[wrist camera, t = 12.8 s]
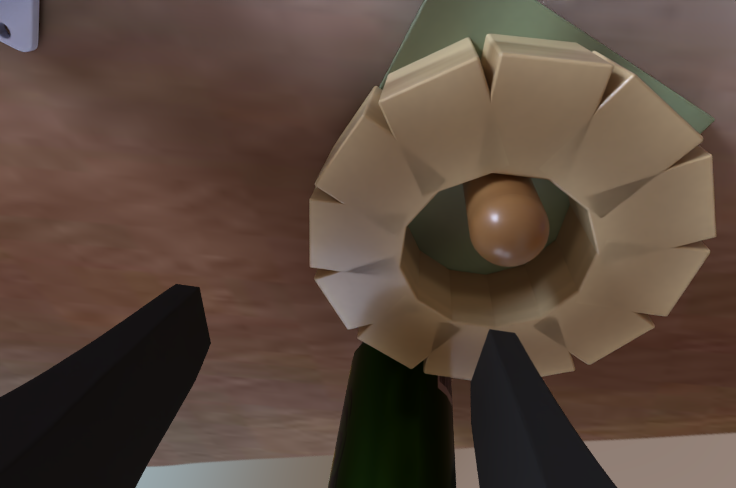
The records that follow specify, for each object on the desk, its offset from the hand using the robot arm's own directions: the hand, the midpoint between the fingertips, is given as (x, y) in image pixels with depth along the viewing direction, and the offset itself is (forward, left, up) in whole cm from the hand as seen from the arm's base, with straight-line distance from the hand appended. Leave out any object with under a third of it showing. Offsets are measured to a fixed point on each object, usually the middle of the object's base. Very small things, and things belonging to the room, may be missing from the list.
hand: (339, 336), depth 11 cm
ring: (+4, +2, -7) cm, 9 cm away
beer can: (+6, -9, -9) cm, 14 cm away
